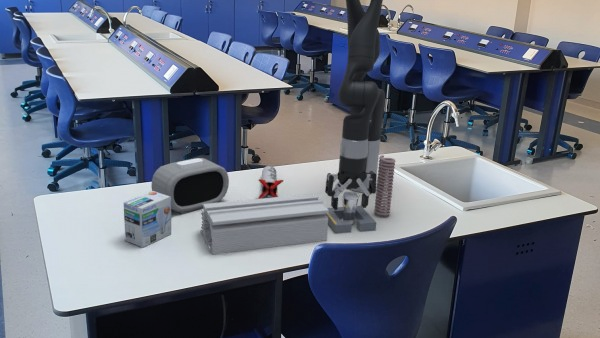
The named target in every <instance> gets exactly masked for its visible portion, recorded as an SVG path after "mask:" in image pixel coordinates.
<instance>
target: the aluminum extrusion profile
mask: <svg viewBox="0 0 600 338" xmlns="http://www.w3.org/2000/svg"><path fill="white" fill-rule="evenodd" d="M323 201H324V200H320V199H319V196H316V195H314V194H313V193H309V194H298V195H287V196H286V195H285V196H278V197H274V196H272V197H263V198H262V199H258V198H255V199H254V198H253V199H243V200H241V199H240V200H233V201H232V200H231V201H222V202H221V201H219V202H216V203H209V204H203V208H200V211H201V213H200V215H201V220H202V221H201V228H200V229H201V230H200V231H201V233H202V236H203V237H204V240H205V241H206V243H207V245H208V247H209V249H210V252H211V254H212V255H219V254H229V253H236V252H242V251H243V252H245V251H253V250H259V249H267V248H277V247H283V246H285V247H286V246H292V245H300V244H301V245H302V244H309V243H315V242H323V241H327V238H328V226H329V225H328V217H327V216H326V215H324V214H325V213H329V210H328V209H327V208H328V207H326V205H324V202H323Z"/></svg>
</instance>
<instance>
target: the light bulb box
mask: <svg viewBox="0 0 600 338" xmlns="http://www.w3.org/2000/svg"><path fill="white" fill-rule="evenodd" d="M123 219H124V220H123V221H124V223H123V224H124V238H125V239H124V240H125V241H126V242H128V243H131V244H133V245H135V246H137V247H141V248H145V247H147V246H149V245H151V244H153V243H155V242H157V241H160V240H162V239H164V238H166V237H168V236H171V235H172V209H171V197H170V196H167V195H164V194H161V193H158V192H155V191H152V190H151V191H150V192H147V193H144V194H141V195H139V196H137V197H134V198H131V199H129V200H125V201H124V202H123Z"/></svg>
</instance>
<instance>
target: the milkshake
mask: <svg viewBox="0 0 600 338" xmlns="http://www.w3.org/2000/svg"><path fill="white" fill-rule="evenodd" d="M361 194H363V192H360V194H357V193H356V192H355V191H354V192H353V191H345V192H343V194H342V207H343V218H342V221H349V222H350V223H351V224H352V225H354V224H355V220H356V217H355V215H356V209H357V206H358V203H359V197H360V196H361Z"/></svg>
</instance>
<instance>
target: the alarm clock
mask: <svg viewBox="0 0 600 338" xmlns="http://www.w3.org/2000/svg"><path fill="white" fill-rule="evenodd" d="M229 179H230V178H229V174H228V172H227V170H226V169H225V167H223V166H221V165H219V164H217V163H215V162H213V161H210V160H208V159H206V158H204V157H197V158H191V159H185V160H179V161H175V162H171V163H167V164H165V165H161V166H159V168H157V169H156V170H155V172H154V174H153V175H152V179H151V191H155V192H158V193H161V194H164V195H167V196H170V197H171V211H172V210H173V211H175V212H177V213H180V214H186V213H189V212H192V211H196V210H201V209H203V204H209V203H219V202H221V201H222V200H223V199H224V198H225V197H226V194H227V193H228V189H229V183H230V180H229Z"/></svg>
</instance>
